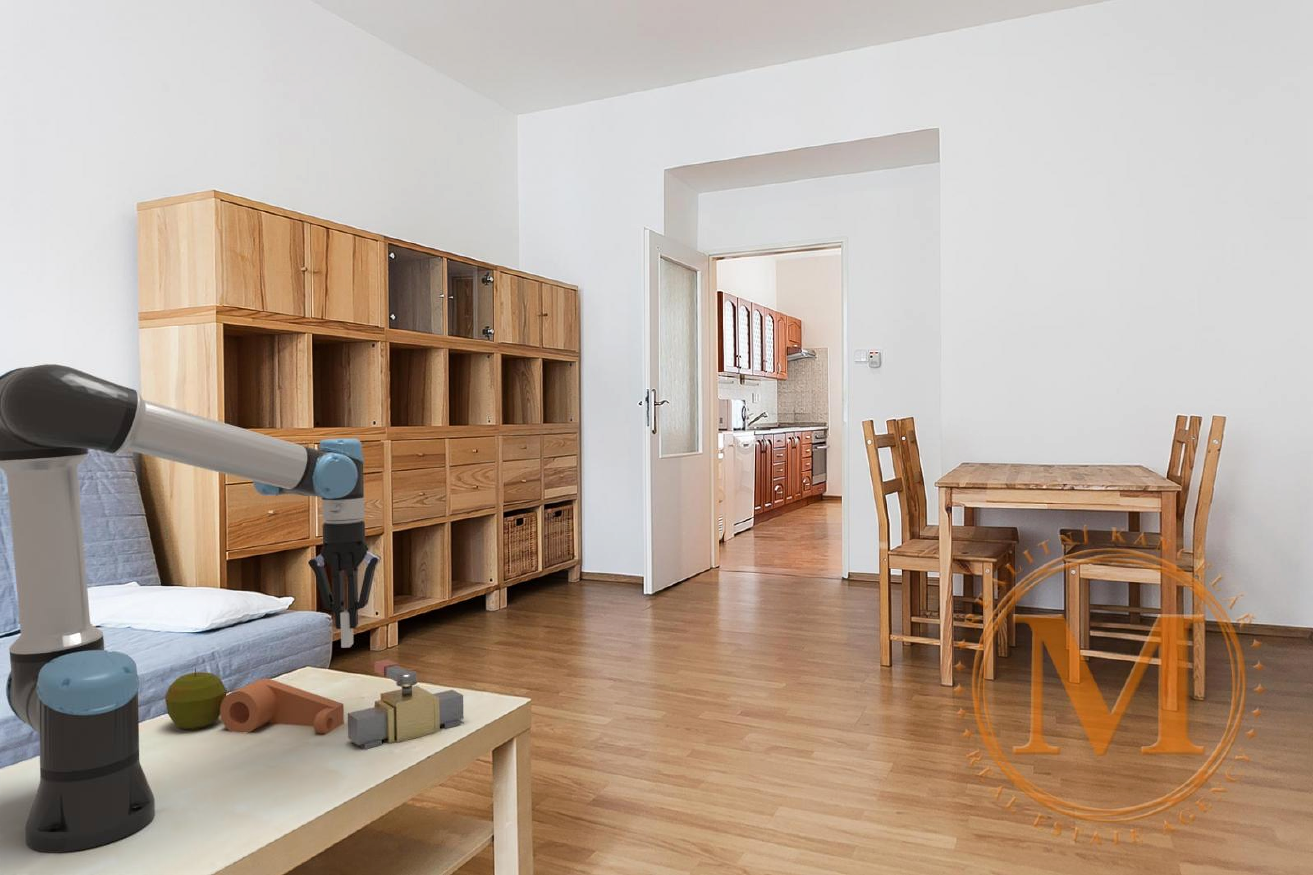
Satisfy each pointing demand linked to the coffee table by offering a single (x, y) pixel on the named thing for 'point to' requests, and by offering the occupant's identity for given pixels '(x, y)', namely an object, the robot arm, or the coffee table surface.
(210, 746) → the coffee table surface
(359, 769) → the coffee table surface
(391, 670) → the lever
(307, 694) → the orange bent piece
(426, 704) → the grey and tan assembly
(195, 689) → the apple
